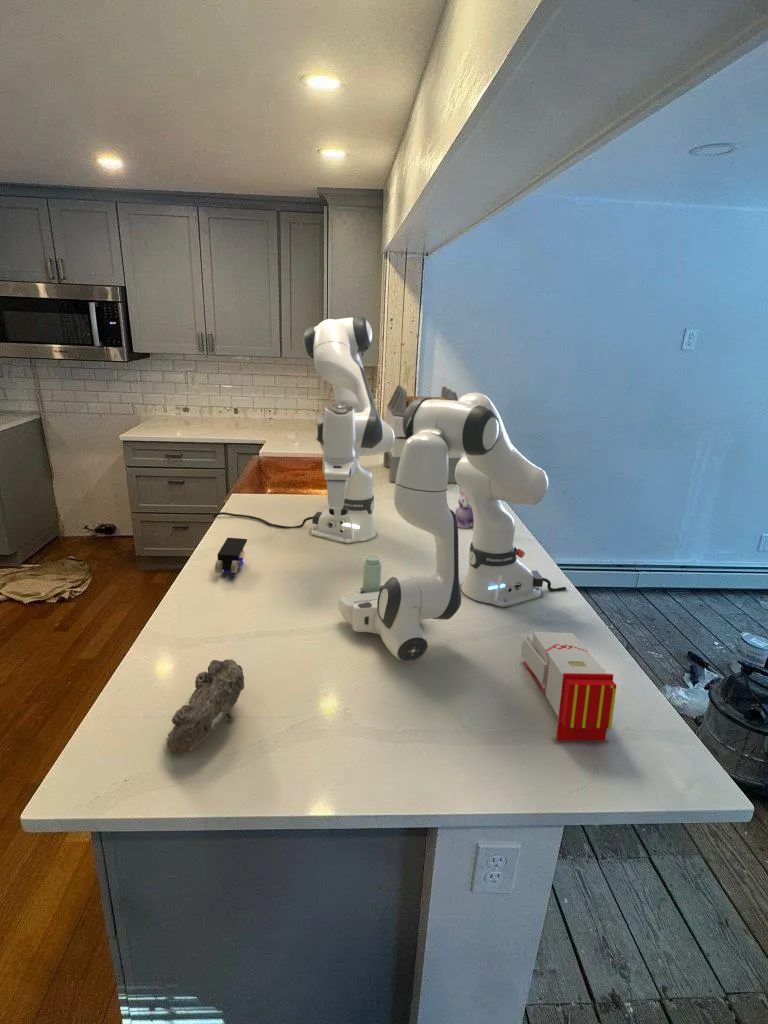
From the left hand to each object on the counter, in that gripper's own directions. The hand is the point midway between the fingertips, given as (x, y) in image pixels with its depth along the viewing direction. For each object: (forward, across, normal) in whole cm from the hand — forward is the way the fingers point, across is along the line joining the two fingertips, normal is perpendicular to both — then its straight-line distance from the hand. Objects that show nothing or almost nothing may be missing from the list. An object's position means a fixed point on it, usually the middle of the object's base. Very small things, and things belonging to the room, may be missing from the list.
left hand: (338, 514), depth 157 cm
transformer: (+19, -118, +31) cm, 123 cm away
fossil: (+21, +59, -20) cm, 65 cm away
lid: (-2, 0, 0) cm, 2 cm away
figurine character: (+20, -5, -32) cm, 38 cm away
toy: (+21, +48, +50) cm, 73 cm away
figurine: (+20, -50, +44) cm, 69 cm away
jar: (+21, +15, +10) cm, 27 cm away
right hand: (+16, +14, +10) cm, 23 cm away
